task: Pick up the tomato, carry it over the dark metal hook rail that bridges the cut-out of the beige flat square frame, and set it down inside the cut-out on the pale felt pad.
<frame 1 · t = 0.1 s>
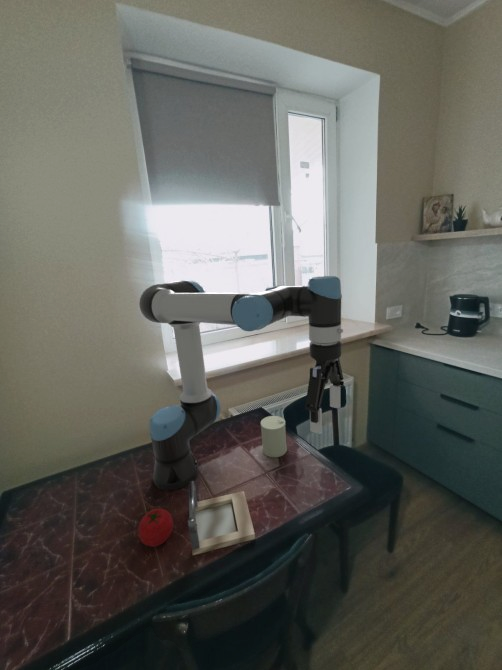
hand: (326, 418, 77), 28 cm above the table, fingers open, 13 cm apart
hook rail: (192, 511, 78), on the beige flat square frame, point 6 cm above the table
beige flat square frame: (221, 522, 82), on the table
tomato: (158, 538, 78), on the table
can: (274, 449, 110), on the table
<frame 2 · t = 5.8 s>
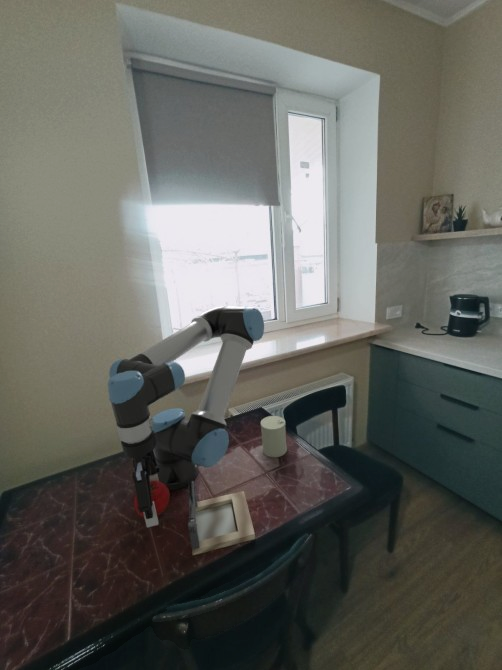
hand: (154, 509, 77), 9 cm above the table, fingers closed on tomato, 9 cm apart
tomato: (154, 510, 77), point 8 cm above the table, touching gripper
everything else where it was.
when the fingers open (2 cm above the table, at t = 10.9 s): tomato drops 1 cm, resting on beige flat square frame.
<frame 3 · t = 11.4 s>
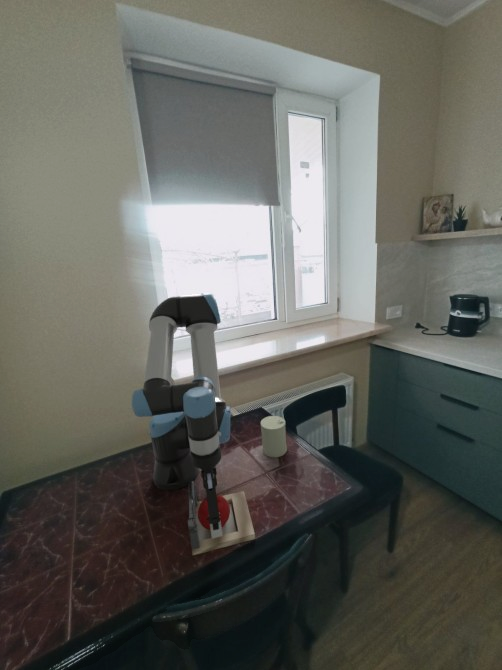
hand: (214, 514, 80), 3 cm above the table, fingers open, 13 cm apart
tomato: (215, 523, 81), resting on beige flat square frame
everything else where it was.
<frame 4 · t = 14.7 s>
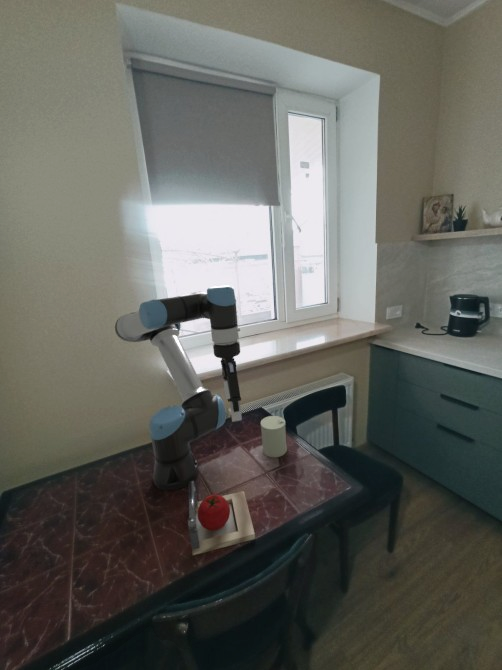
hand: (233, 408, 88), 27 cm above the table, fingers open, 13 cm apart
nothing on the table moved.
at the end: tomato inside the target area on the beige flat square frame (0.1 cm from its centre), point 0.1 cm above the beige flat square frame's base; tomato resting on beige flat square frame; the gripper is holding nothing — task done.
